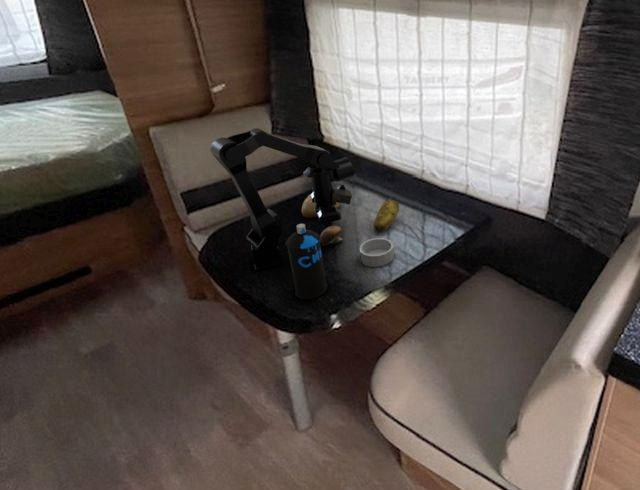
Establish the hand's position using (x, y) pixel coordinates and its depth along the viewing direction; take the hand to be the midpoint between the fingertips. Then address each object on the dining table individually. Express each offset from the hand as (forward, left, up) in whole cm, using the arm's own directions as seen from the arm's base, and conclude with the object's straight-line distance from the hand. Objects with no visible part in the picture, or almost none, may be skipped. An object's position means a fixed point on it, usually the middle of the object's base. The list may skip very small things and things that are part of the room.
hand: (328, 228), depth 137 cm
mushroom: (0, -4, -3) cm, 5 cm away
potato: (+19, -1, -3) cm, 19 cm away
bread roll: (+1, +19, -3) cm, 19 cm away
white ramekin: (+11, -19, -3) cm, 22 cm away
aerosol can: (-9, -26, -3) cm, 28 cm away
